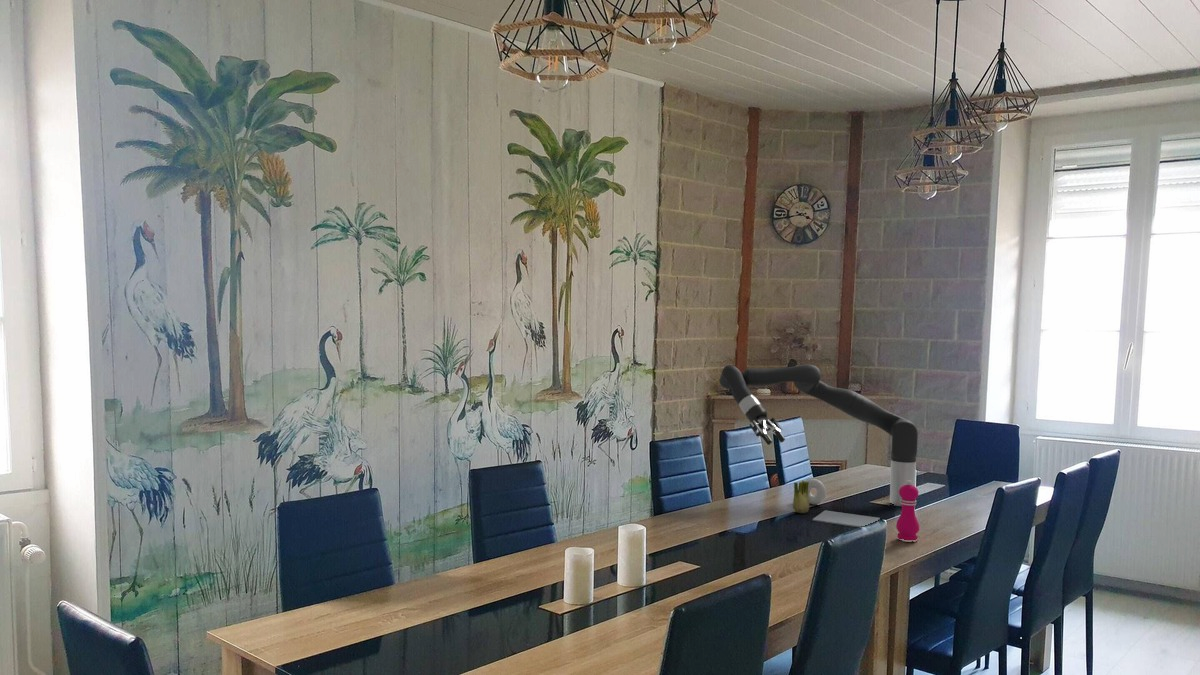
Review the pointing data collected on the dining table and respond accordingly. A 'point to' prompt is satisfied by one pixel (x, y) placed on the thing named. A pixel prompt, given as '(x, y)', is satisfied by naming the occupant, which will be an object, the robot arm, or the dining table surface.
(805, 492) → the fennel bulb
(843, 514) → the rubber mat
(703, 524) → the dining table surface
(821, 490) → the donut
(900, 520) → the pepper mill
